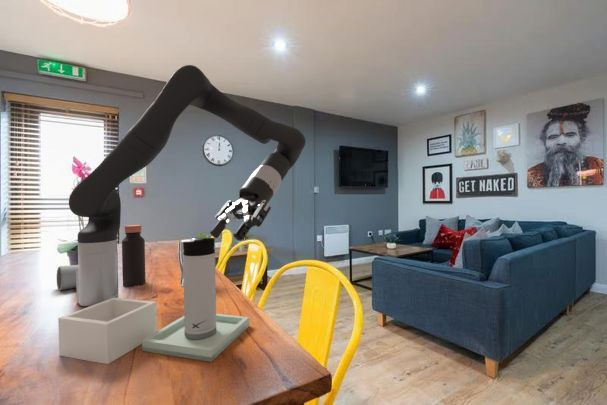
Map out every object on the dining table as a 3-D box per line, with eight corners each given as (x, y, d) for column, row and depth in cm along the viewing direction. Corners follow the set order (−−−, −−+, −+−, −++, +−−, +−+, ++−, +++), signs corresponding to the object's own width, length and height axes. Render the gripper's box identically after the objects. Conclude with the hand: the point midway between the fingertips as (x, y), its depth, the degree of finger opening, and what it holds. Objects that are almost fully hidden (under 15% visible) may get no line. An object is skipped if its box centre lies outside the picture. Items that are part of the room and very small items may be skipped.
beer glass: (193, 288, 95) (192, 241, 95) (173, 287, 97) (173, 241, 96) (204, 282, 102) (203, 238, 102) (186, 281, 103) (185, 238, 103)
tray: (142, 350, 56) (141, 340, 56) (192, 319, 71) (191, 311, 71) (211, 361, 52) (211, 350, 52) (249, 325, 67) (249, 317, 67)
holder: (59, 355, 55) (58, 318, 55) (114, 328, 66) (113, 297, 66) (107, 364, 52) (106, 324, 52) (156, 334, 63) (156, 302, 63)
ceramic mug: (92, 286, 99) (91, 263, 99) (61, 292, 92) (60, 268, 92) (83, 281, 105) (82, 260, 105) (53, 287, 99) (52, 264, 99)
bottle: (128, 281, 104) (127, 224, 103) (148, 281, 104) (147, 224, 104) (118, 287, 97) (117, 226, 97) (140, 286, 98) (138, 226, 97)
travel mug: (199, 343, 57) (197, 240, 57) (177, 335, 61) (176, 238, 60) (223, 330, 62) (222, 236, 62) (202, 324, 66) (201, 234, 65)
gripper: (234, 177, 77) (195, 224, 68) (274, 174, 68) (235, 228, 59) (250, 197, 81) (215, 244, 73) (289, 196, 73) (255, 250, 64)
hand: (224, 237), depth 66 cm, fingers open, 8 cm apart
